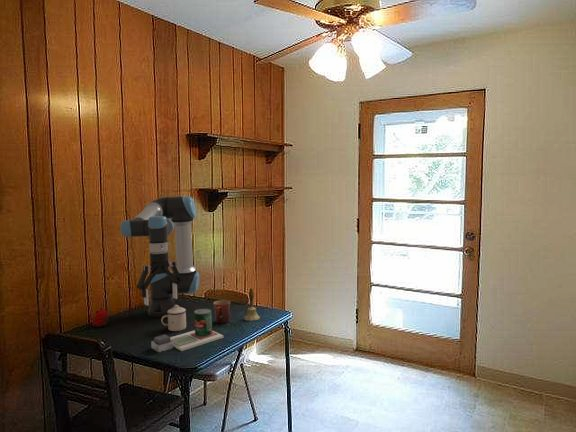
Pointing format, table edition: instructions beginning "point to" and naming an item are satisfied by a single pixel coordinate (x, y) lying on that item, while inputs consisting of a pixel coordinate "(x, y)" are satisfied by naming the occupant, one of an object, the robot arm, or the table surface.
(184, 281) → the robot arm
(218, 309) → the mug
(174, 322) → the teacup with lid
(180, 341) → the picture board
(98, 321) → the red clay folk toy
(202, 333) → the canned tomato
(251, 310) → the hand bell
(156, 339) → the button
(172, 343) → the button base
